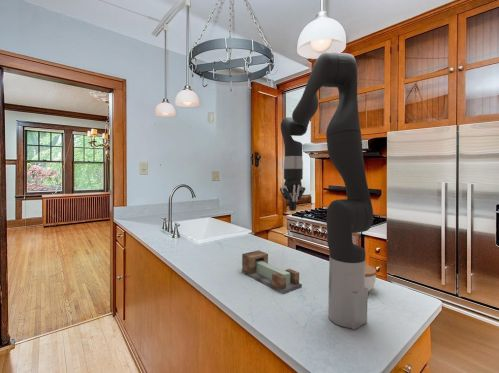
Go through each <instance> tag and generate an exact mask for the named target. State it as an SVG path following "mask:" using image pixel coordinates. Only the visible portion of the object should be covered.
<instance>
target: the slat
mask: <svg viewBox="0 0 499 373" xmlns="http://www.w3.org/2000/svg"><path fill="white" fill-rule="evenodd" d="M255 272H256V273H258V274H260V275H262V276H264V277H266V278H268V279H270V280H272V274H273V273H278V274H281V275H283V276H285V277H286V285H289V284H290V273H289V272H287V271H285V270H284V269H283V268H282V269H281V268H279V267H278V266H275V265H272V264H269V262H268V263H266V262H263V261H261V260H259V259H255Z"/></svg>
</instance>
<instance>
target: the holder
mask: <svg viewBox="0 0 499 373" xmlns="http://www.w3.org/2000/svg"><path fill="white" fill-rule="evenodd" d="M241 257H242V258H241V261H242V262H241V265H242V267H241V273H242V274H244V275H246V276H248V277H250V278H251V279H253V280H255V281H258V282H260V283H261V284H263V285H266V286H267V287H269V288H270V289H272V290H275V291H277V292H278V293H280V294H281V295H285V294H288V293H290V292H293V291H296V290H298V289H300V288H302V287H303V286H302V283H300V272H299V271H296V270H294V269H292V268H287V269H285V270H284V271H287V272H289V273H290V284H289V285H286V277H285V276H283V275H281V274H278V273H273V274H272V280H270V279H268V278H266V277H264V276H262V275H260V274H258V273H256V272H255V259H259V260H261V261H263V262H266V263H268V264H269V254H268V253H266V252H265V251H261V250H260V249H258V250H253V251H250V252H246V253H242V255H241Z"/></svg>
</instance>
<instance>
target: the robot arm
mask: <svg viewBox="0 0 499 373" xmlns="http://www.w3.org/2000/svg"><path fill="white" fill-rule="evenodd" d="M322 87H324V88H337V90H338V104H337V108H336V110H335V112H334V113H333V116H332V117H331V119H330V121H329V122H328V125H327V128H326V132H325V136H326V147H327V154H328V158H329V159H330V161H331V163H332V164H333V166H334V168H335V169H336V171H337V172H338V173H339V175H340V176H341V178H342V180H343V182H344V186H345V192H346V198H345V199H344V198H342V199H335V200H332V201H331V202H330V204H329V205H328V206H327V211H326V243H327V247H328V251H329V262H328V263H329V265H328V266H329V269H328V303H327V304H328V306H327V307H328V309H327V315H328V318H329V320H330V321H331V322H332V323H334V324H335V325H337V326H340V327H343V328H347V329H352V330H353V331H355V330H357V329H359V328H360V327H361V326H364V325H365V324H366V323H368V302H369V301H368V299H369V298H368V296H369V294H368V293H369V291H368V288H366V287H365V264H366V250H365V248H363V247H362V246H360V245H358V244H354V241H353V234H354V233H355V234H357V233H363V232H364V233H365V232H367V231H369V230H370V229H371V227H372V225H373V223H374V209H373V205H372V204H373V203H372V198H371V194H370V190H369V186H368V181H367V174H366V168H365V167H366V166H365V161H364V159H365V158H364V153H363V150H364V149H363V140H362V131H361V124H360V117H359V104H358V65H357V61H356V58H355V57H354V55H352V54H350V53H346V52H334V51H325V52H322V53H320V54H319V55H318V57H317V59H316V60H315V62H314V64H313V66H312V69H311V72H310V75H309V77H308V79H307V82H306V84H305V88H304V90H303V93H302V96H301V97H300V99H299V101H298V103H297V105H296V106H295V108H294V110H293V112H292V114H291V116H290V117H284V118H283V119H281V123H280V132H281V135H282V138H283V144H284V160H283V180H284V184H283V187H280V188H279V191H280V193H281V195H282V196H283V198H284V200H286V201H288V209H289V211H291V212H295V211H296V210H297V202H298V201H299V200H301V199H302V197H303V195H304V193H305V191H306V187H303V186H302V185H303V184H302V180H303V177H304V176H303V174H304V172H303V171H304V161H303V143H302V142H300V141H298V140H295V139H294V138H293V136H295V137H301V136H304V135H306V133H307V131H308V128H309V124H310V121H311V120H312V118H313V117H314V116H315V114H316V112H317V111H318V108H319V97H318V92H319V90H320V89H321V88H322Z"/></svg>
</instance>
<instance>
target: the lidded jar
mask: <svg viewBox="0 0 499 373" xmlns="http://www.w3.org/2000/svg"><path fill="white" fill-rule="evenodd" d="M376 278H377V269H376V268H375V267H373V266H372V265H368V264H366V263H365V287H366V288H368V292H370V291H371V290H372V289H373V288H374V286H375V283H376V280H377V279H376Z"/></svg>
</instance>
